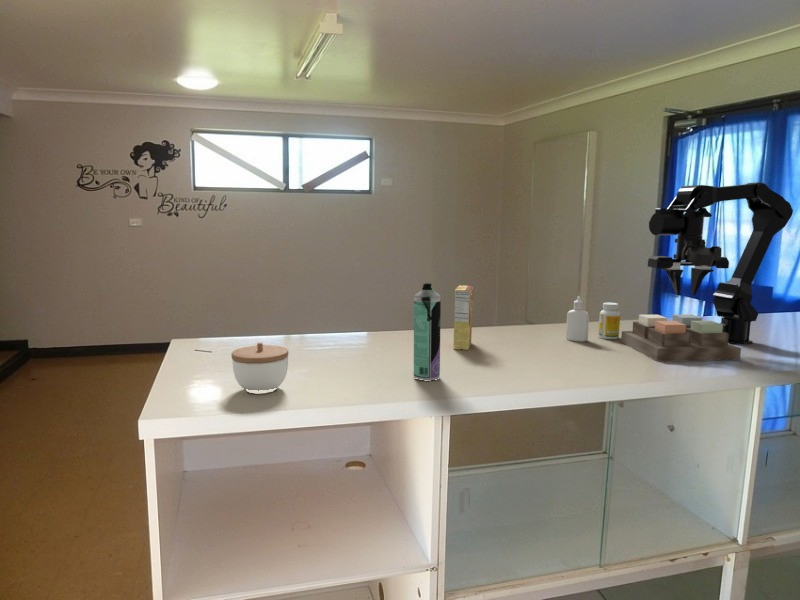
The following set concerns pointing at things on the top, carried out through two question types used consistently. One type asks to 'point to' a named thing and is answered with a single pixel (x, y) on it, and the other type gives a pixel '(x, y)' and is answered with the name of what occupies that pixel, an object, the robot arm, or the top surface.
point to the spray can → (427, 333)
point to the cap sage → (706, 326)
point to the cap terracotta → (670, 327)
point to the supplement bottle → (609, 321)
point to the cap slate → (686, 318)
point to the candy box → (463, 317)
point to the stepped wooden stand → (680, 344)
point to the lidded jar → (260, 366)
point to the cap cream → (650, 319)
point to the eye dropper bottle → (577, 323)
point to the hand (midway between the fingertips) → (685, 295)
